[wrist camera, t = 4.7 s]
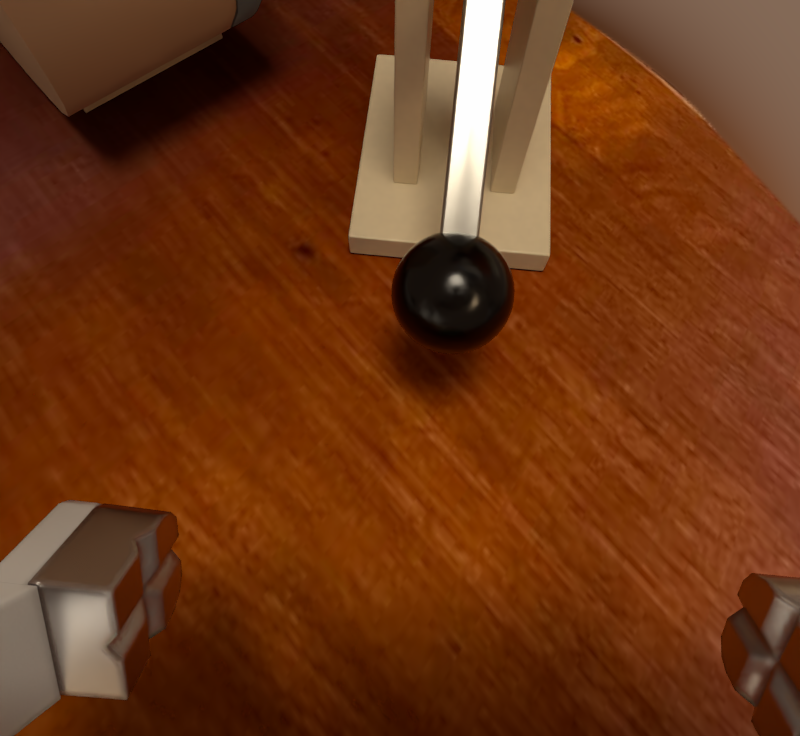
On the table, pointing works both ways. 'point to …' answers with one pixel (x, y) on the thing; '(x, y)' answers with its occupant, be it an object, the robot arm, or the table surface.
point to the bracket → (430, 130)
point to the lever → (461, 213)
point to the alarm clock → (109, 42)
